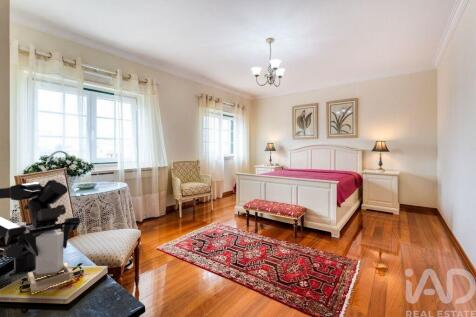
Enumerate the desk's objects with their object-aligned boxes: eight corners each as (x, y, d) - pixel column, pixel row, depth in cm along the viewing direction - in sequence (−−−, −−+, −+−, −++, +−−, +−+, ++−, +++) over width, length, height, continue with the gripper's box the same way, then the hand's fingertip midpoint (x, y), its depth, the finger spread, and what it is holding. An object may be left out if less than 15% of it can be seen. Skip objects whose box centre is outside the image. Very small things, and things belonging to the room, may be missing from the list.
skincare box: (63, 266, 75) (65, 231, 75) (57, 273, 71) (58, 235, 71) (42, 268, 73) (43, 232, 74) (33, 275, 69) (35, 236, 69)
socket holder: (27, 281, 72) (27, 272, 72) (66, 270, 79) (66, 261, 79) (32, 294, 65) (32, 284, 65) (73, 280, 73) (73, 271, 73)
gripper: (7, 202, 66) (16, 248, 60) (79, 194, 82) (92, 230, 76) (1, 223, 71) (9, 268, 65) (70, 212, 86) (81, 247, 80)
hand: (52, 251), depth 71 cm, fingers closed on skincare box, 7 cm apart
